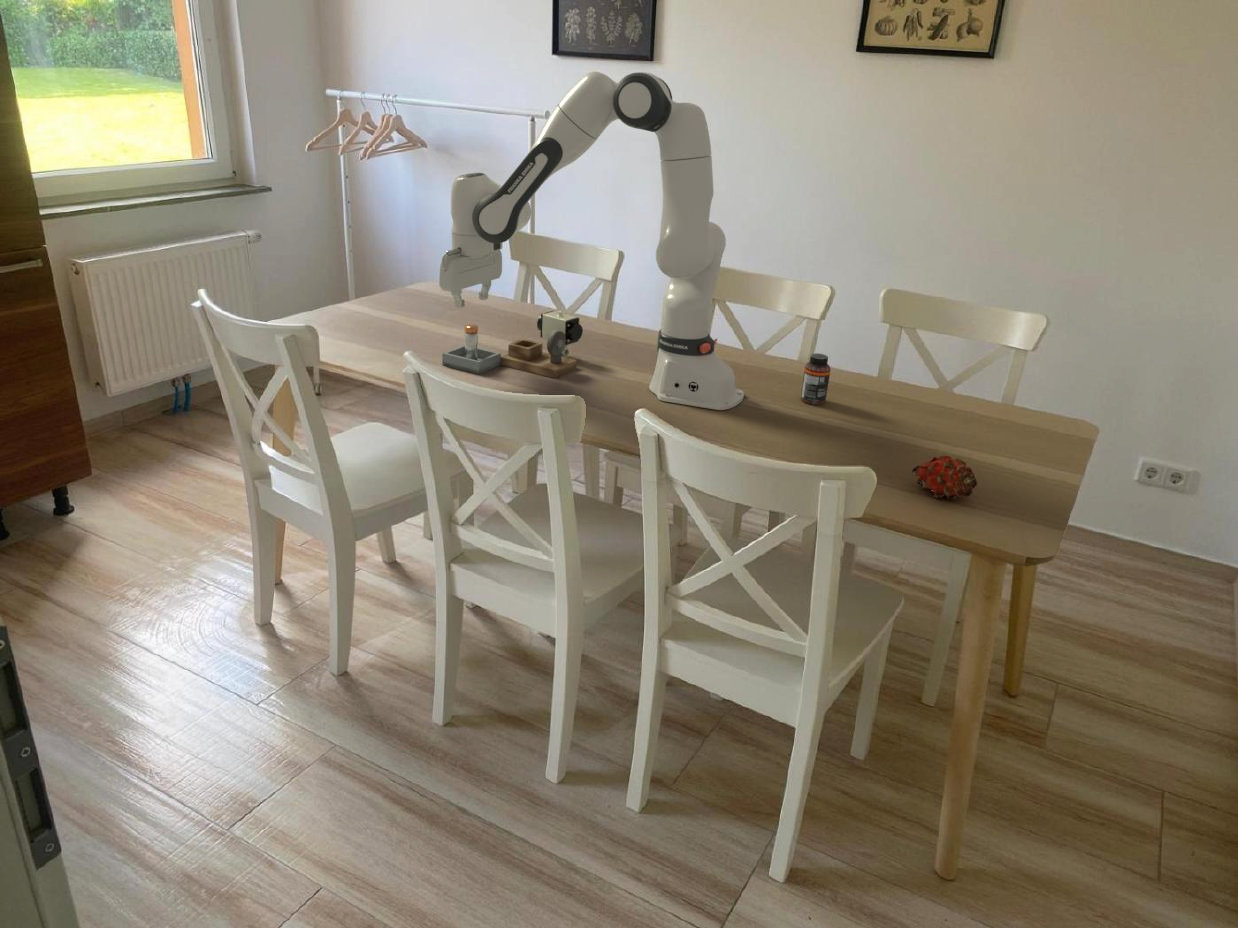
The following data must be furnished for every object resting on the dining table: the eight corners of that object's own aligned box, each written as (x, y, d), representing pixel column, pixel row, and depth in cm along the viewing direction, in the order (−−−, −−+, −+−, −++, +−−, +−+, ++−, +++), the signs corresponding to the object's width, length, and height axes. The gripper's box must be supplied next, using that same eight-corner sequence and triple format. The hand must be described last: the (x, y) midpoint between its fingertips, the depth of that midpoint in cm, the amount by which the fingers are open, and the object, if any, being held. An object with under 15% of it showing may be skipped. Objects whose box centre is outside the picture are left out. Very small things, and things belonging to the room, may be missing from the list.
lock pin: (480, 361, 224) (480, 326, 220) (472, 364, 221) (472, 329, 217) (470, 358, 225) (470, 323, 221) (462, 362, 222) (462, 326, 219)
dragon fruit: (974, 514, 168) (909, 503, 174) (986, 477, 171) (922, 468, 178) (969, 489, 161) (902, 478, 168) (981, 451, 165) (916, 442, 172)
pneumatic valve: (570, 364, 228) (572, 318, 223) (535, 353, 235) (536, 308, 230) (584, 359, 233) (586, 314, 228) (549, 349, 239) (551, 304, 234)
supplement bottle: (809, 395, 218) (816, 350, 213) (830, 402, 214) (837, 356, 210) (794, 400, 214) (801, 354, 209) (815, 407, 210) (823, 361, 206)
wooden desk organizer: (576, 367, 226) (577, 329, 222) (555, 378, 218) (556, 338, 214) (523, 355, 233) (523, 317, 229) (500, 364, 225) (500, 325, 221)
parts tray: (500, 364, 225) (500, 353, 224) (478, 374, 217) (478, 362, 216) (465, 356, 229) (464, 344, 228) (442, 365, 222) (442, 353, 221)
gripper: (453, 253, 201) (455, 314, 207) (506, 241, 218) (506, 297, 224) (431, 250, 204) (433, 309, 210) (485, 237, 221) (486, 293, 226)
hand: (471, 303), depth 217 cm, fingers open, 8 cm apart
